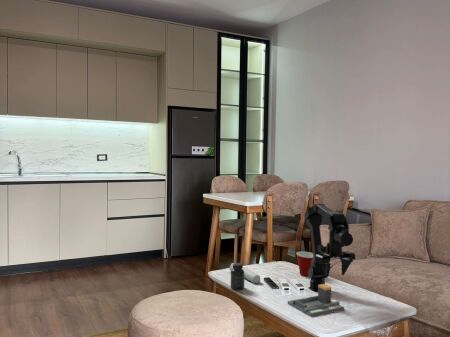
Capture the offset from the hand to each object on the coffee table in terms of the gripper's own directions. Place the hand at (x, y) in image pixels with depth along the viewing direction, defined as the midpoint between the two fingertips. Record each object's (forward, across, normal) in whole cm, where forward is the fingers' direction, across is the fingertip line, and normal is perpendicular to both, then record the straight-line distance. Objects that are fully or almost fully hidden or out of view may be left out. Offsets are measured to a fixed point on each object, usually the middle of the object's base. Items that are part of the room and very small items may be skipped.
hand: (335, 276), depth 184 cm
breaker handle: (+11, +6, 0) cm, 12 cm away
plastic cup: (+12, -14, -40) cm, 44 cm away
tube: (+12, +18, -50) cm, 54 cm away
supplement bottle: (+12, +30, -35) cm, 48 cm away
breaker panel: (+12, +11, 0) cm, 16 cm away
